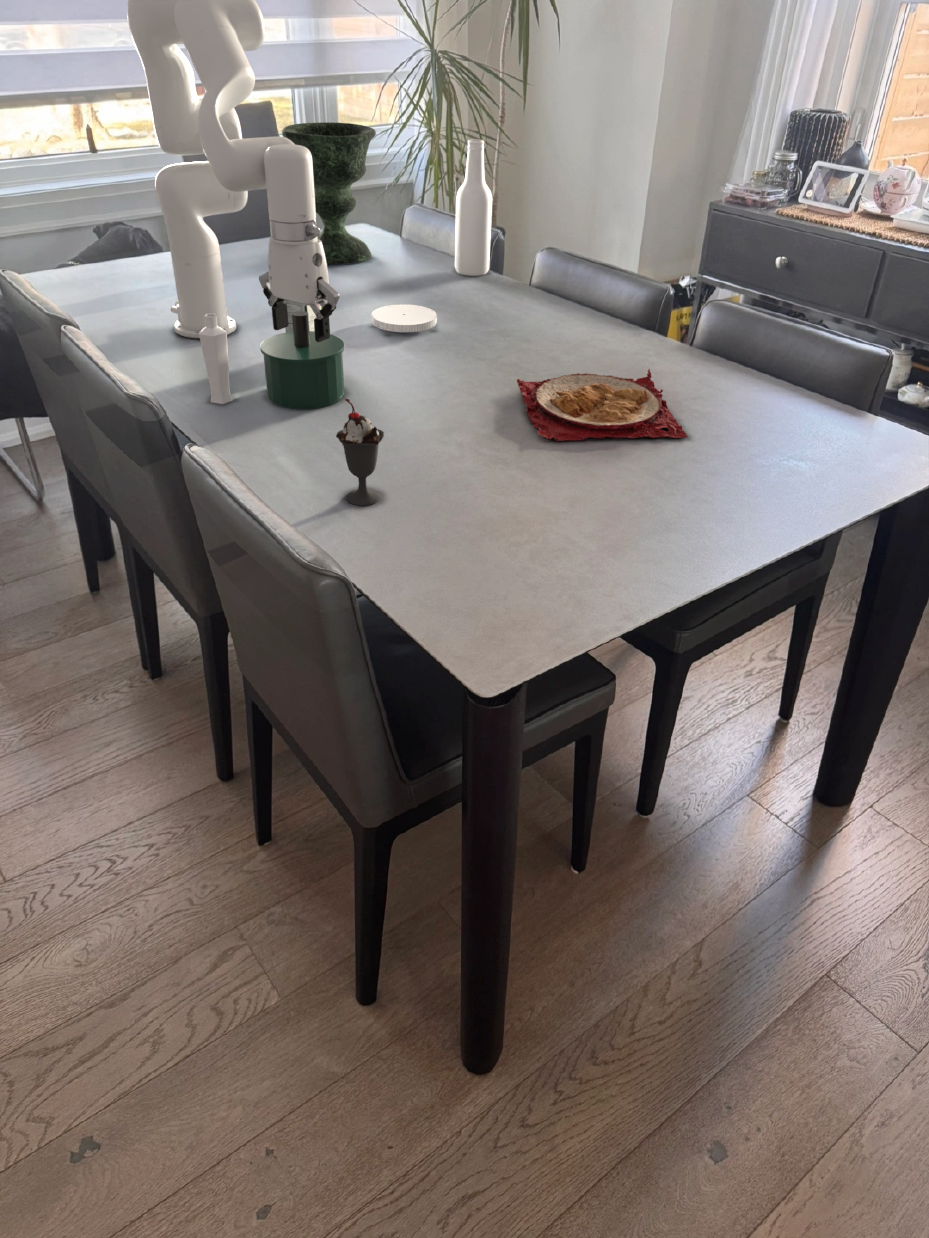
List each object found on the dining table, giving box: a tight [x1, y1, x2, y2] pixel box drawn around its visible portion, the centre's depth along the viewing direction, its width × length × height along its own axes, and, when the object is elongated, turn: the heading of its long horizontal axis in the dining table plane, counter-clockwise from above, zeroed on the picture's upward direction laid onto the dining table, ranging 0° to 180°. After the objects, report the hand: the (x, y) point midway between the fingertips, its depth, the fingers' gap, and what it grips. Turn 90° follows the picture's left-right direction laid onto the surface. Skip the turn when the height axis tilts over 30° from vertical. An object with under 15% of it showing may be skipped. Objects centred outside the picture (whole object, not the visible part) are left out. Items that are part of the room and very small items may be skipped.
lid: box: [259, 311, 345, 363], centre depth 160 cm, size 15×15×7 cm
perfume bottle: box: [199, 313, 234, 405], centre depth 159 cm, size 5×4×15 cm
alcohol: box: [454, 138, 493, 277], centre depth 225 cm, size 9×9×30 cm
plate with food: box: [516, 368, 689, 442], centre depth 162 cm, size 24×26×4 cm
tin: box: [263, 352, 345, 410], centre depth 164 cm, size 14×14×8 cm
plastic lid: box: [370, 303, 438, 333], centre depth 197 cm, size 14×14×2 cm
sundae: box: [335, 398, 385, 507], centre depth 131 cm, size 7×7×15 cm
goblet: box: [281, 121, 377, 265], centre depth 233 cm, size 22×23×30 cm
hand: (301, 334), depth 160 cm, fingers open, 9 cm apart
